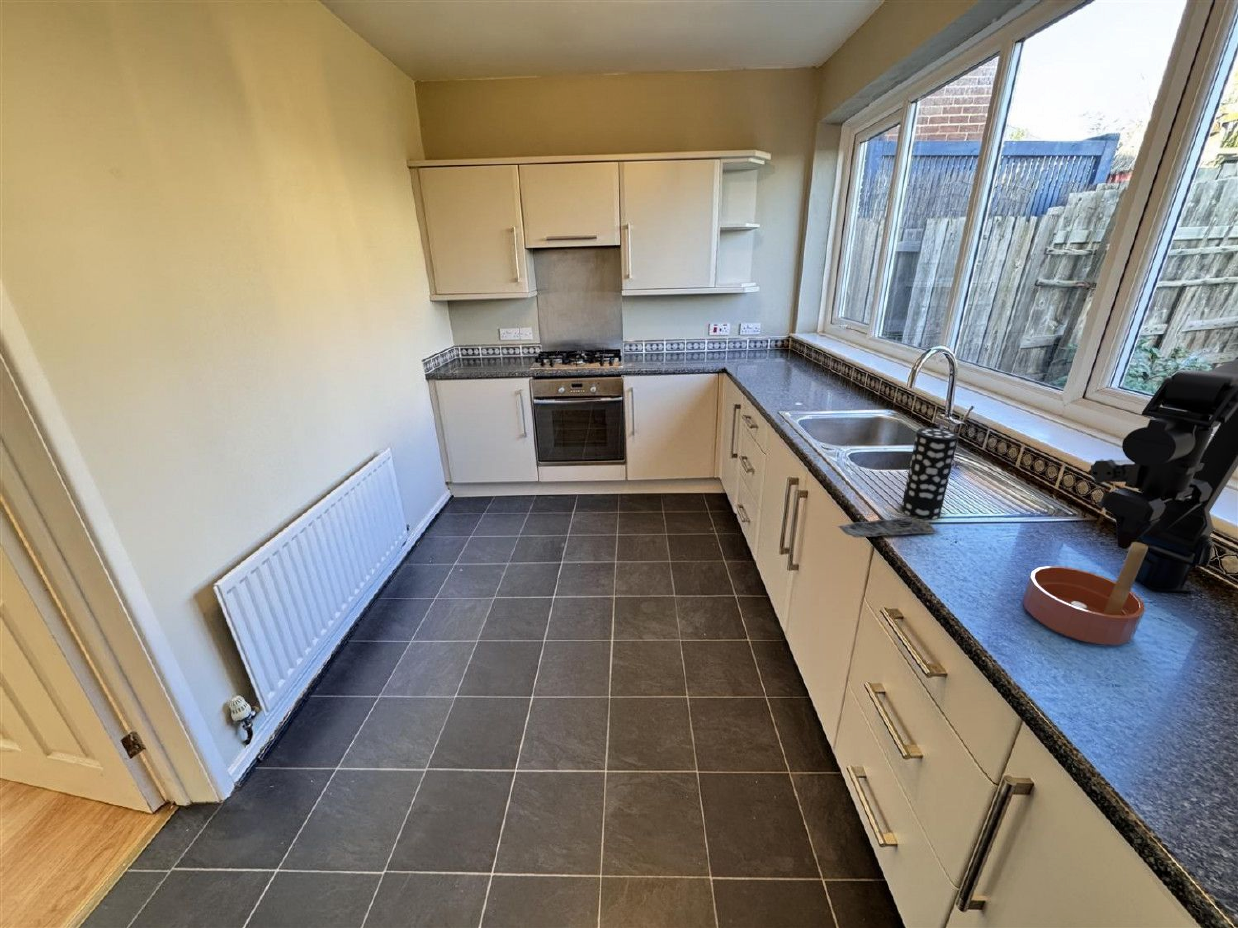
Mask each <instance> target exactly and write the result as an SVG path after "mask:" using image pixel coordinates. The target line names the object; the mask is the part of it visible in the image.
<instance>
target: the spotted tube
mask: <svg viewBox="0 0 1238 928" xmlns="http://www.w3.org/2000/svg"><path fill="white" fill-rule="evenodd" d="M959 439H960V434H958V433H956V432H954V431H952V430H949V429H944V428H936V427H923V428H922V427H921V428H918V429H917V430H916V433H915V439H914V444H913V449H912V453H911V457H910V463H909V468H908V473H907V477H906V482H905V487H904V492H903V496H902V502H901V507H900V509H901V511H902V512H903V513H904V514H906V515H908V516H911V517H912V518H916V519H921V520H936V519H938V518H940V516H941V513H942V509H943V504H944V502H945V496H946V492H947V489H948V488H947V487H948V484H949V480H950V476H951V472H952V468H953V463H954V459H955V455H956V451H957V447H958V443H959Z"/></svg>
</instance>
